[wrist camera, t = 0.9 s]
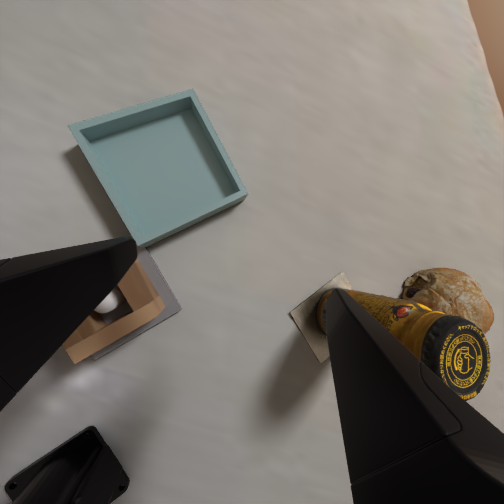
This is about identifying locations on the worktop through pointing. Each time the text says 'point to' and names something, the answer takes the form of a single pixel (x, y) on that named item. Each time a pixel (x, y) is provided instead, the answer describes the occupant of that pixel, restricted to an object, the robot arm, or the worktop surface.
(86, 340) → the ring
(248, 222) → the worktop surface
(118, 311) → the gray plate with knob
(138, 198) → the tray
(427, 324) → the condiment
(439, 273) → the bread roll
